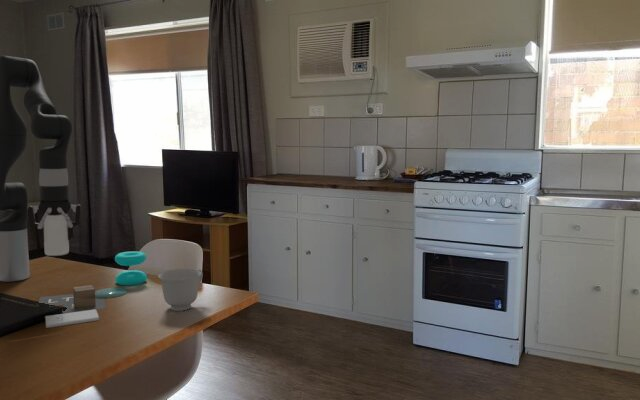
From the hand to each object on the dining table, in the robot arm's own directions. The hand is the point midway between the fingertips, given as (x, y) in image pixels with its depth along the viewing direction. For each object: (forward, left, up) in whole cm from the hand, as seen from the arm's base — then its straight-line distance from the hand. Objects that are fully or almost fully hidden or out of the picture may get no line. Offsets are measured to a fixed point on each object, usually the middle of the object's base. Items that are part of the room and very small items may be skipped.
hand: (56, 240), depth 151 cm
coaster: (-2, +14, -18) cm, 23 cm away
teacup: (+20, +34, -18) cm, 43 cm away
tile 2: (+8, +7, -18) cm, 21 cm away
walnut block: (+8, +7, -18) cm, 21 cm away
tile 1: (0, 0, -18) cm, 18 cm away
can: (0, 0, -4) cm, 4 cm away
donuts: (-14, +21, -18) cm, 31 cm away
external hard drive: (+20, +4, -19) cm, 28 cm away
